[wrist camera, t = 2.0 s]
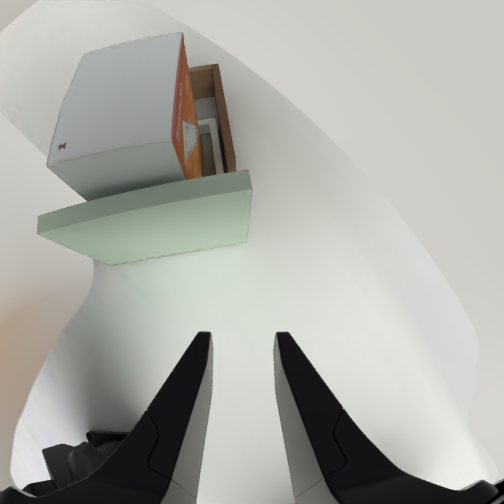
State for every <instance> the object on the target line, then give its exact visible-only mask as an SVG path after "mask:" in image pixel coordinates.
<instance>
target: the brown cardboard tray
mask: <svg viewBox="0 0 504 504" xmlns="http://www.w3.org/2000/svg"><path fill="white" fill-rule="evenodd" d="M188 70H189V76H190V82H191V88H192V94H193V99H199V98H206V97H212V96H215V100H216V107H217V113H218V120H219V126H220V132H221V138H222V145H223V151H224V157H225V163H226V169H227V173H230V172H236V163H235V153H234V148H233V142H232V137H231V131H230V126H229V120H228V115H227V109H226V104H225V98H224V93H223V87H222V82H221V76H220V71H219V65H218V64H213V65H206V66H199V67H193V68H188Z"/></svg>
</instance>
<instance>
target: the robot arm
mask: <svg viewBox="0 0 504 504" xmlns="http://www.w3.org/2000/svg"><path fill="white" fill-rule="evenodd" d="M273 354H274V375H275V393H276V399H277V405H278V410H279V416H280V421H281V427H282V432H283V438H284V443H285V449H286V454H287V460H288V465H289V471H290V476H291V482H292V487H293V492H294V498H295V504H504V479H502V480H500V481H498V482H496V483H494V484H490V483H488V482H486V481H484V480H480V481H477V482H475V483H473V484H471V485H469V486H467V487H465V488H463V489H460V490H452V489H448V488H445V487H442V486H439V485H436V484H433V483H431V482H428V481H425V480H423V479H420V478H417V477H415V476H412V475H410V474H408V473H406V472H404V471H402V470H401V469H399V468H398V467H397V466H395V465H394V464H393V463H392V462H391V461H390V460H389V459H388V458H387V457H386V456H385V455H384V454H383V453H382V452H381V451H380V450H379V449H378V448H377V447H376V446H375V445H374V444H373V443H372V442H371V441H370V440H369V439H368V438H367V436H366V435H365V434H364V433H363V432H362V431H361V430H360V429H359V428H358V426H357V425H356V424H355V422H354V421H353V420H352V419H351V417H350V416H349V415H348V413H347V412H346V411H345V409H343V407H342V405H341V404H340V403H339V401H338V400H337V398H336V397H335V396H334V394H333V393H332V392H331V390H330V389H329V387H328V386H327V385H326V383H325V382H324V380H323V379H322V378H321V376H320V375H319V374H318V372H317V371H316V369H315V368H314V367H313V365H312V364H311V362H310V361H309V360H308V358H307V357H306V355H305V354H304V353H303V351H302V350H301V348H300V347H299V346H298V344H297V343H296V341H295V340H294V339H293V337H292V336H291V334H290V333H289V332H276V334H275V341H274V349H273ZM212 383H213V341H212V333H211V332H206V331H200V332H198V333H197V335H196V336H195V338H194V339H193V341H192V342H191V344H190V345H189V347H188V348H187V350H186V351H185V353H184V354H183V356H182V357H181V359H180V360H179V362H178V363H177V365H176V366H175V368H174V369H173V371H172V372H171V374H170V375H169V377H168V378H167V380H166V381H165V383H164V384H163V386H162V387H161V389H160V390H159V392H158V393H157V395H156V396H155V398H154V399H153V401H152V402H151V404H150V405H149V407H148V408H147V410H146V411H145V412H144V414H143V415H142V417H141V418H140V420H139V421H138V423H137V424H136V425H135V427H134V428H133V430H132V431H131V432H130V433H126V432H103V431H89V432H87V433H86V437H87V440H88V443H87V442H82V443H81V444H80V445H78V446H75V447H73V446H70V445H67V444H59V445H55V446H53V447H49V448H46V449H43V450H42V453H43V456H44V459H45V463H46V466H47V469H48V472H49V475H50V478H51V480H47V481H42V482H36V483H31V484H28V485H27V486H26V487H25V488H24V489H22V490H20V489H18V488H15V487H13V486H10V487H8V488H7V489H5V490H4V491H0V504H196V501H197V500H196V499H197V493H198V486H199V479H200V472H201V465H202V458H203V451H204V444H205V437H206V431H207V424H208V417H209V411H210V404H211V398H212ZM91 435H92V436H93V438H92V437H91Z"/></svg>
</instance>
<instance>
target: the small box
mask: <svg viewBox="0 0 504 504" xmlns="http://www.w3.org/2000/svg"><path fill="white" fill-rule="evenodd" d="M46 165H47V167H48V168H49V169H50V170H51V171H52V172H54V173H55V174H56V175H57V176H58V177H59V178H60V179H62V180H63V181H64V182H65V183H66V184H67V185H69V186H70V187H71V188H72V189H73V190H75V191H76V192H77V193H78V194H79V195H81V196H82V197H83V198H84V199H85V200H87V201H88V202H89V201H92V200H96V199H100V198H104V197H108V196H112V195H116V194H121V193H125V192H129V191H134V190H138V189H143V188H147V187H152V186H157V185H162V184H167V183H172V182H177V181H183V180H188V179H194V178H199V177H203V147H202V142H201V137H200V131H199V126H198V122H197V116H196V111H195V105H194V99H193V94H192V88H191V82H190V76H189V70H188V65H187V58H186V52H185V46H184V37H183V33H181V32H180V33H173V34H166V35H160V36H155V37H149V38H144V39H139V40H134V41H130V42H126V43H122V44H118V45H114V46H110V47H107V48H103V49H100V50H96V51H93V52H90V53H86V54H85V55H84V56H83V57H82V60H81V62H80V64H79V66H78V68H77V70H76V73H75V75H74V77H73V80H72V82H71V84H70V87H69V89H68V91H67V93H66V95H65V98H64V100H63V103H62V106H61V109H60V113H59V117H58V121H57V125H56V128H55V132H54V135H53V139H52V143H51V147H50V151H49V155H48V159H47V164H46Z"/></svg>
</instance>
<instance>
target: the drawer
mask: <svg viewBox="0 0 504 504" xmlns="http://www.w3.org/2000/svg"><path fill="white" fill-rule="evenodd" d="M197 122H198V126H199V131H200V135H203V134H209V133H211V139H212V147H213V154H214V161H215V168H216V174H217V175H211V176H205V177H199V178H194V179H188V180H183V181H177V182H172V183H167V184H162V185H157V186H152V187H147V188H143V189H138V190H134V191H129V192H125V193H121V194H116V195H112V196H108V197H104V198H100V199H96V200H92V201H89V202H85V203H81V204H78V205H74V206H70V207H67V208H64V209H60V210H57V211H53V212H50V213H47V214H43V215H40V216H38V227H37V234H38V235H41V236H43V237H45V238H47V239H49V240H52V241H54V242H56V243H58V244H61V245H63V246H65V247H67V248H70V249H72V250H74V251H77V252H79V253H81V254H84V255H86V256H88V257H91V258H93V259H96V260H98V261H100V262H103V263H105V264H108V265H115V264H121V263H127V262H132V261H138V260H144V259H150V258H156V257H161V256H167V255H173V254H179V253H185V252H191V251H197V250H203V249H209V248H215V247H221V246H227V245H233V244H239V243H245V242H247V234H248V224H249V215H250V205H251V196H252V186H251V181H250V176H249V171H248V170H244V171H237V172H230V173H224V170H223V163H222V157H221V151H220V144H219V138H218V131H217V125H216V118H209V119H203V120H197Z"/></svg>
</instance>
